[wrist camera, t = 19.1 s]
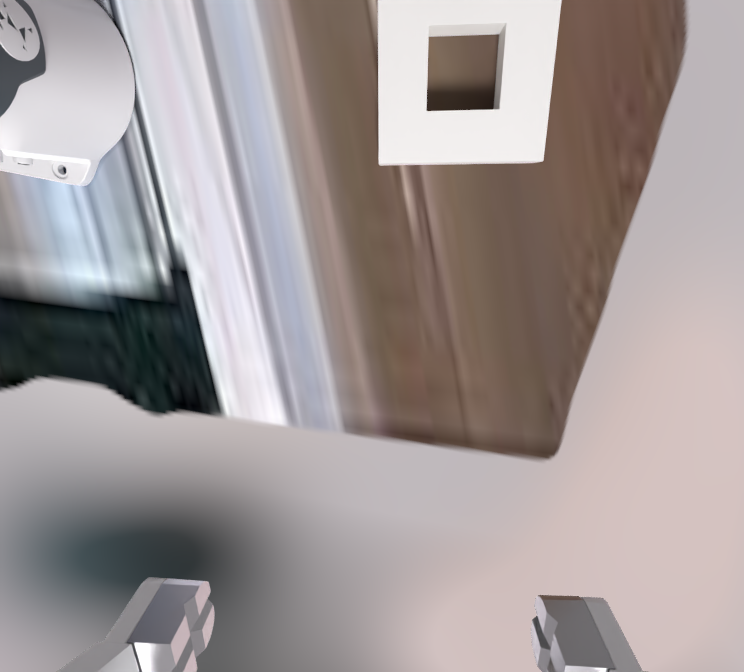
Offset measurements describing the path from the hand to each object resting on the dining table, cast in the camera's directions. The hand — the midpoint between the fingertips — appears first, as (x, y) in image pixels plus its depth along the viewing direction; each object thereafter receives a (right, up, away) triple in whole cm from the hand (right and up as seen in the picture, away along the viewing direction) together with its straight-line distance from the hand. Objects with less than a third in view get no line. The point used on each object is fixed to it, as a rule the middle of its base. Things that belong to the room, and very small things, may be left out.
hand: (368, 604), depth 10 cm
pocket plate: (+8, +29, +26) cm, 39 cm away
